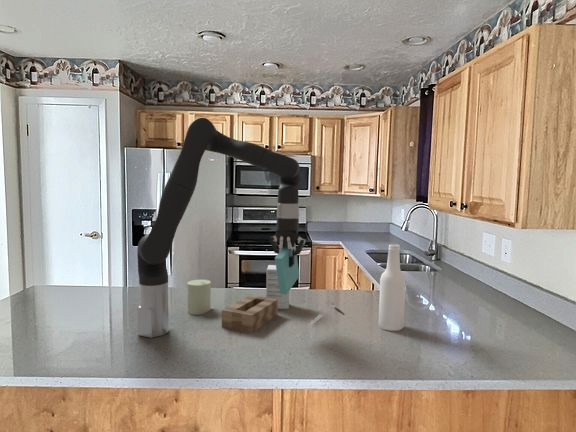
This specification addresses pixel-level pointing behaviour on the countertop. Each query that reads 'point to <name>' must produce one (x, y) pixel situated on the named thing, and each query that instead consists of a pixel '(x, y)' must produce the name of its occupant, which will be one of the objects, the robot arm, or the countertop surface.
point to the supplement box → (275, 288)
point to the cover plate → (286, 270)
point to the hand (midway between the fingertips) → (286, 266)
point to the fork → (335, 307)
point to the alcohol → (392, 293)
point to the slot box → (249, 313)
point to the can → (199, 296)
